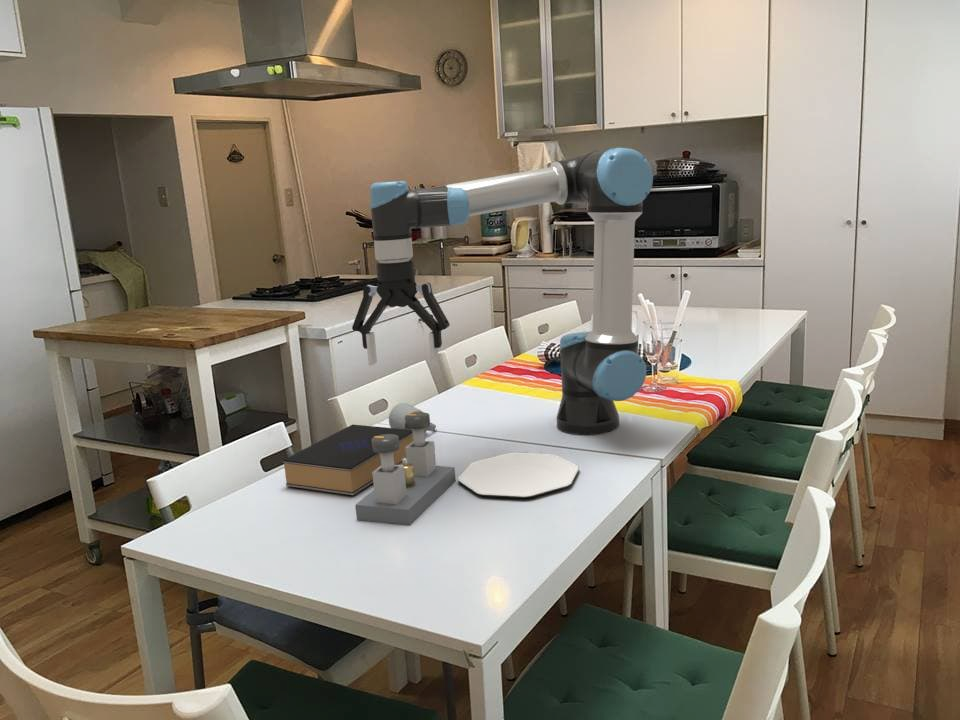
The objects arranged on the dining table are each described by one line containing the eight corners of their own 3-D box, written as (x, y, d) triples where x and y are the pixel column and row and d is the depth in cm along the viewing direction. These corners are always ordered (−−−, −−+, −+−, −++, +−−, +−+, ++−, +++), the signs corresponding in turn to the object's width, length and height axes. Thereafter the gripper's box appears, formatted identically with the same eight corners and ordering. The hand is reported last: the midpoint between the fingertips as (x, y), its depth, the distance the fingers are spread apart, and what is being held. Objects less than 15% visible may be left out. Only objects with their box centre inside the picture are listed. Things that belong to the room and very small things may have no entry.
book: (286, 489, 171) (282, 460, 169) (355, 450, 192) (352, 424, 191) (353, 499, 163) (350, 468, 161) (417, 457, 184) (415, 430, 183)
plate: (496, 512, 151) (495, 505, 151) (443, 475, 172) (442, 469, 172) (599, 483, 162) (599, 476, 161) (537, 452, 182) (537, 445, 182)
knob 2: (436, 450, 166) (433, 411, 164) (426, 458, 161) (423, 419, 159) (414, 448, 168) (411, 411, 166) (404, 457, 163) (400, 418, 161)
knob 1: (407, 474, 153) (402, 433, 151) (395, 484, 149) (390, 442, 147) (383, 473, 155) (379, 432, 153) (371, 482, 150) (366, 440, 149)
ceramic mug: (406, 442, 194) (404, 412, 192) (389, 435, 201) (386, 405, 199) (443, 433, 200) (441, 403, 199) (425, 426, 207) (423, 397, 205)
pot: (417, 482, 160) (415, 456, 159) (410, 488, 157) (408, 461, 156) (403, 481, 161) (401, 455, 160) (397, 487, 158) (394, 460, 157)
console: (455, 480, 168) (452, 439, 166) (409, 524, 148) (405, 478, 146) (407, 477, 172) (403, 436, 170) (356, 519, 152) (351, 474, 150)
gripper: (459, 256, 162) (466, 359, 167) (344, 260, 169) (354, 359, 173) (448, 260, 155) (456, 367, 160) (329, 264, 161) (340, 368, 166)
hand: (403, 363), depth 166 cm, fingers open, 13 cm apart
